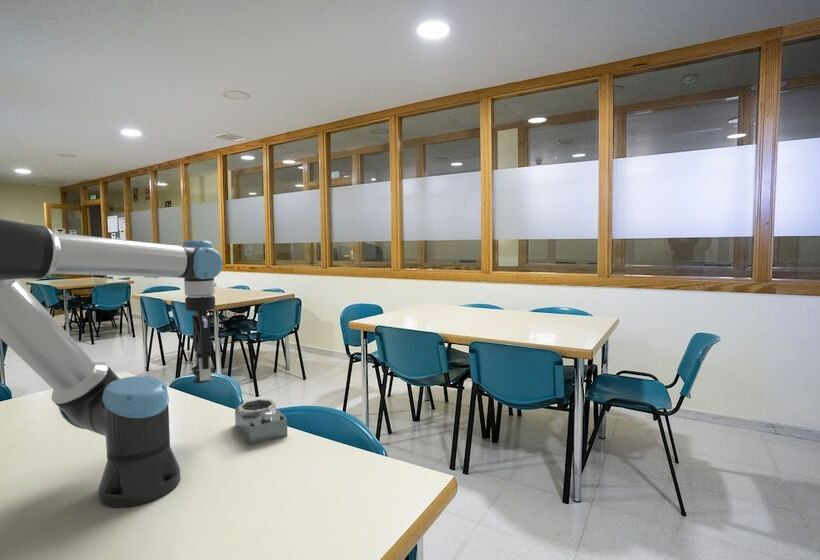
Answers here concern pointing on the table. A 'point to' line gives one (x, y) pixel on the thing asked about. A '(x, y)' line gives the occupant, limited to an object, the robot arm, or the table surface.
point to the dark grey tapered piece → (196, 369)
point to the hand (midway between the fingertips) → (203, 376)
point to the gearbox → (260, 421)
